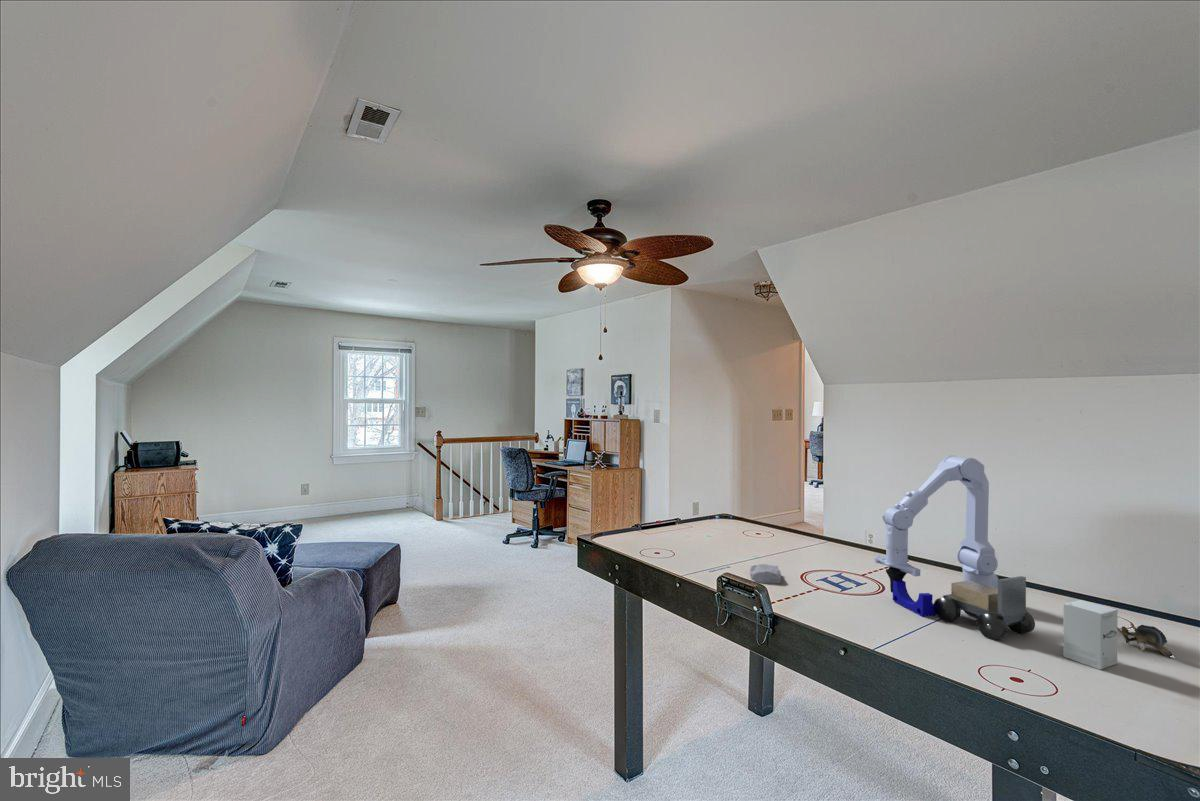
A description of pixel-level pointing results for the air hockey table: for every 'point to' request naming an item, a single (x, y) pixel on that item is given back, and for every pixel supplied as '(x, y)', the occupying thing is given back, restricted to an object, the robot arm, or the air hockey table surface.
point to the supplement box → (1090, 634)
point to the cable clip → (920, 606)
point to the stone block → (765, 574)
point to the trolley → (989, 606)
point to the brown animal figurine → (1147, 637)
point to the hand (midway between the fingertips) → (896, 593)
